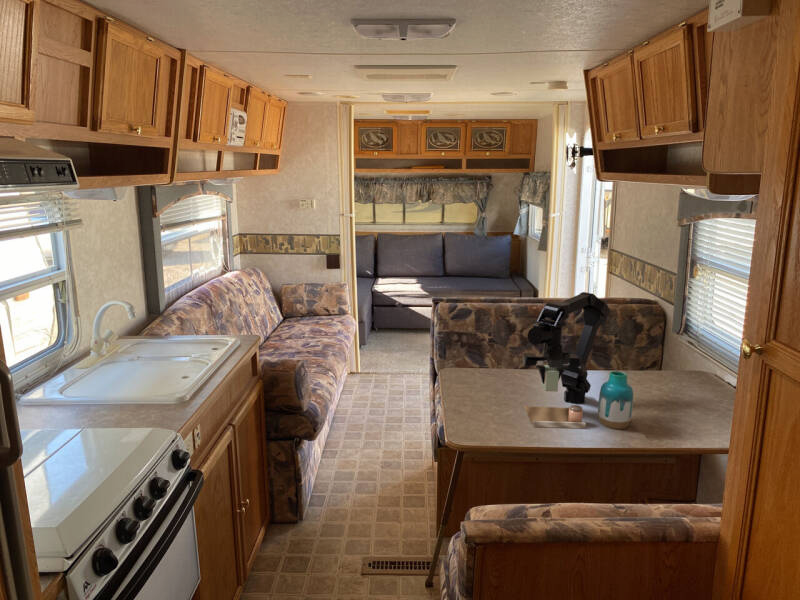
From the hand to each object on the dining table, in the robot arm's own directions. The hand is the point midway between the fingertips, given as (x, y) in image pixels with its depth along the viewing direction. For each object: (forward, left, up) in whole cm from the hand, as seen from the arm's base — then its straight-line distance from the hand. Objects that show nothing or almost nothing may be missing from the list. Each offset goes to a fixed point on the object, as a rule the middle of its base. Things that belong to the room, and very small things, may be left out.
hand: (549, 383), depth 200 cm
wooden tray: (-1, +4, -12) cm, 13 cm away
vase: (-20, +8, -12) cm, 25 cm away
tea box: (0, 0, -2) cm, 2 cm away
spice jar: (-7, +9, -10) cm, 16 cm away
